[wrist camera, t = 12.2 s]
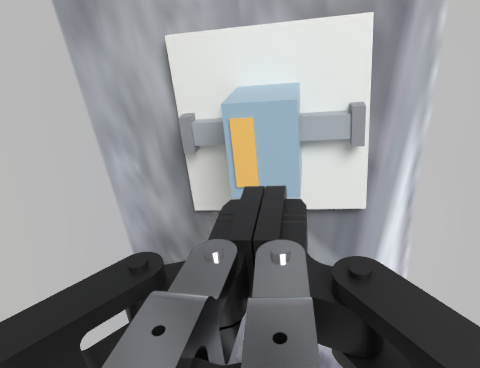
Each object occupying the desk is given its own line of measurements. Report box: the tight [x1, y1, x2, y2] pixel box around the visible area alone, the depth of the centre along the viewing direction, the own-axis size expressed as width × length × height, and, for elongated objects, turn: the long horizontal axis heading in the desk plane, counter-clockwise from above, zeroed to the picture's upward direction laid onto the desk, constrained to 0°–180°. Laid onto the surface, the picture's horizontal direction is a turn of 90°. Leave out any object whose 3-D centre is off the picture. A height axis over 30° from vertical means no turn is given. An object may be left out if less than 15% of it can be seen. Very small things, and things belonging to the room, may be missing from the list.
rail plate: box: [165, 12, 374, 210], centre depth 31 cm, size 16×16×2 cm
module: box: [221, 82, 302, 199], centre depth 28 cm, size 7×5×7 cm
